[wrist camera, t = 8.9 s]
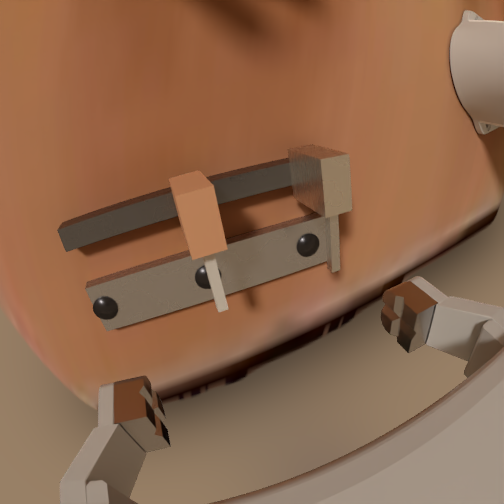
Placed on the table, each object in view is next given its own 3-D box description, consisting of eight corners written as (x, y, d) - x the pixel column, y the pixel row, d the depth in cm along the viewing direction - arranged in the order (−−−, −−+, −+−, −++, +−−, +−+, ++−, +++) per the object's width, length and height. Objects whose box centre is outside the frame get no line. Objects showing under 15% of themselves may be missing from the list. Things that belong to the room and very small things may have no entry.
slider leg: (198, 170, 23) (213, 185, 19) (224, 279, 28) (242, 313, 23) (168, 178, 23) (175, 196, 18) (198, 287, 28) (211, 323, 23)
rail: (320, 138, 28) (368, 150, 21) (328, 234, 32) (369, 264, 26) (57, 209, 23) (32, 243, 16) (98, 305, 27) (91, 356, 21)
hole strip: (326, 209, 31) (333, 214, 30) (329, 253, 33) (335, 258, 32) (85, 282, 26) (83, 290, 25) (105, 324, 28) (105, 332, 27)
